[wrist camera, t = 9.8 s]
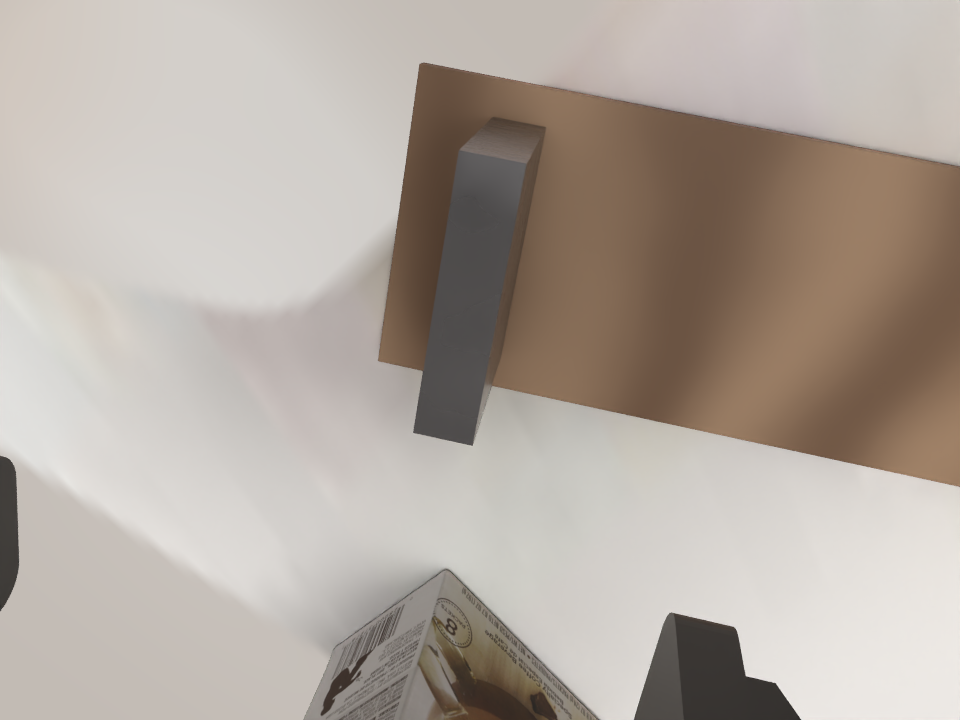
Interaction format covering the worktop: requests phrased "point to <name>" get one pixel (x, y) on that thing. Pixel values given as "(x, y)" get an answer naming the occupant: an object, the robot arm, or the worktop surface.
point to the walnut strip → (675, 274)
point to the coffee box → (439, 666)
